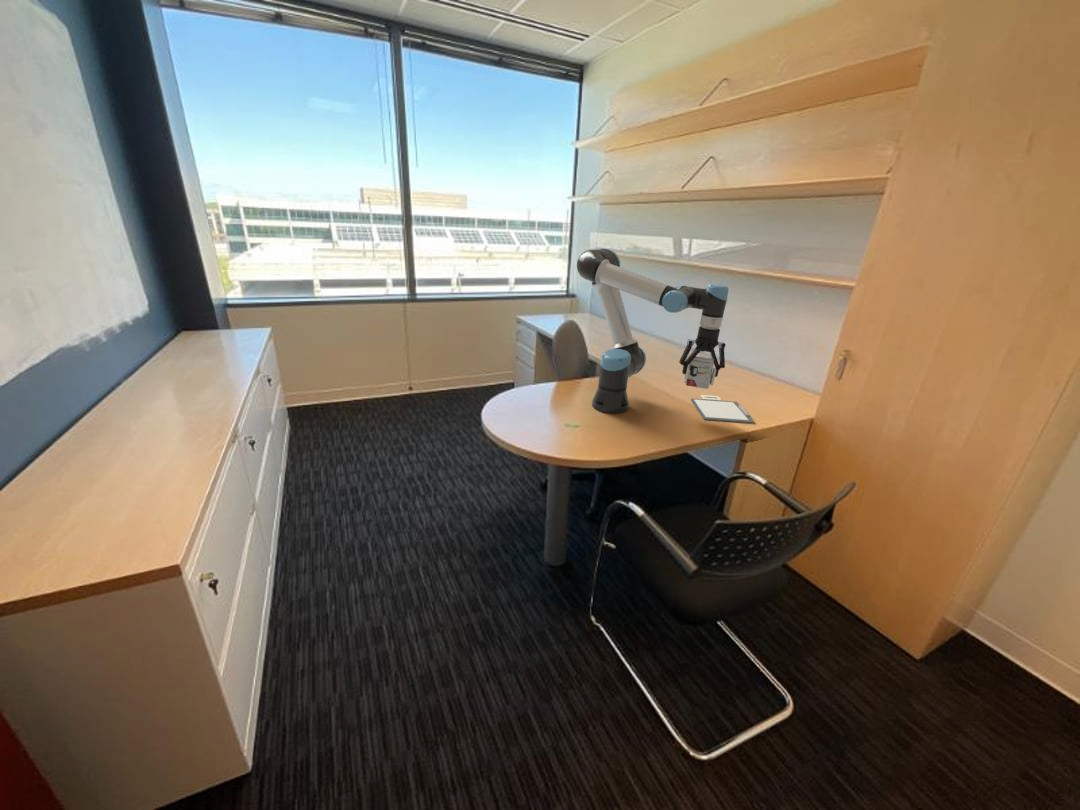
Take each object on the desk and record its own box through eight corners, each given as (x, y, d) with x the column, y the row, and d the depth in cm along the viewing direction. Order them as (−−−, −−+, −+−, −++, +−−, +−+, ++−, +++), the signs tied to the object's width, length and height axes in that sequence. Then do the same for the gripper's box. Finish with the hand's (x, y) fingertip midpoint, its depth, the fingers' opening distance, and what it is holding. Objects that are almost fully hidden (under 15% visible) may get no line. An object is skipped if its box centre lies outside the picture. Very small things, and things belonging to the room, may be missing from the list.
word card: (703, 399, 198) (703, 398, 198) (700, 395, 203) (700, 394, 203) (721, 400, 198) (721, 399, 198) (718, 396, 202) (718, 395, 202)
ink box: (685, 385, 175) (689, 356, 170) (687, 381, 179) (692, 353, 174) (708, 389, 171) (713, 360, 166) (709, 385, 175) (714, 356, 170)
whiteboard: (703, 419, 177) (704, 417, 176) (690, 399, 197) (691, 397, 196) (754, 423, 176) (755, 420, 175) (736, 403, 196) (736, 400, 196)
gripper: (682, 327, 163) (671, 383, 171) (743, 331, 162) (729, 388, 170) (677, 322, 169) (667, 377, 178) (736, 327, 169) (723, 382, 177)
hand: (697, 382), depth 174 cm, fingers closed on ink box, 10 cm apart
